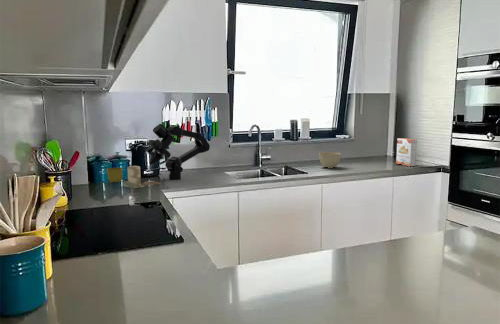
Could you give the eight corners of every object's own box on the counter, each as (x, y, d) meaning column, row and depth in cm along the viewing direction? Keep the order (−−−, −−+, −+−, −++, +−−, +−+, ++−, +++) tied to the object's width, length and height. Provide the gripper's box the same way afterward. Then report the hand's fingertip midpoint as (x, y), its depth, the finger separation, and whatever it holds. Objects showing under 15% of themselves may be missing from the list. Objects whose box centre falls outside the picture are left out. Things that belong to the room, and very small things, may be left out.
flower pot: (107, 182, 236) (106, 168, 234) (122, 181, 239) (121, 167, 238) (107, 185, 228) (106, 170, 226) (123, 184, 231) (122, 169, 229)
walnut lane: (152, 183, 232) (152, 177, 232) (162, 185, 226) (162, 178, 225) (123, 188, 218) (123, 181, 217) (133, 191, 211) (133, 183, 211)
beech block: (136, 184, 221) (135, 165, 219) (141, 185, 217) (140, 166, 216) (128, 186, 217) (127, 166, 216) (133, 187, 214) (132, 167, 212)
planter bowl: (341, 169, 282) (341, 154, 280) (318, 169, 285) (318, 154, 283) (340, 166, 297) (340, 152, 296) (319, 165, 300) (319, 151, 299)
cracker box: (395, 164, 303) (396, 138, 300) (401, 164, 306) (402, 137, 303) (409, 167, 291) (411, 139, 288) (415, 166, 293) (417, 139, 290)
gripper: (147, 134, 232) (132, 154, 226) (164, 134, 219) (148, 156, 213) (160, 146, 239) (145, 166, 233) (177, 147, 226) (162, 168, 219)
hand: (150, 164), depth 224 cm, fingers closed
